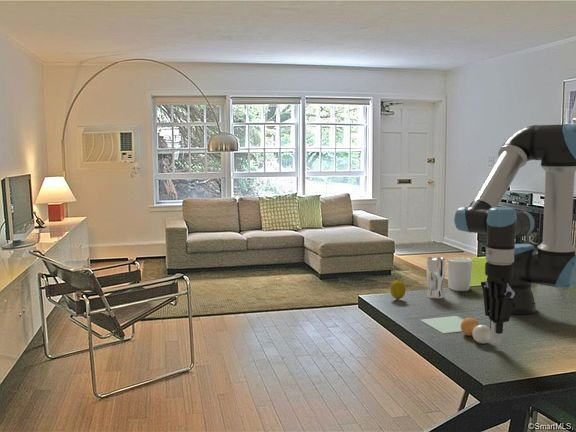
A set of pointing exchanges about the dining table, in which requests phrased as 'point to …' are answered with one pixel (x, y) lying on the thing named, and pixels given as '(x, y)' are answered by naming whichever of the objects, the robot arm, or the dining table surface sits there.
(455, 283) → the candle holder
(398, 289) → the lemon
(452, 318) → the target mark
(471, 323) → the object ball
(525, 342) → the dining table surface
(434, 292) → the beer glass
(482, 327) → the cue ball
